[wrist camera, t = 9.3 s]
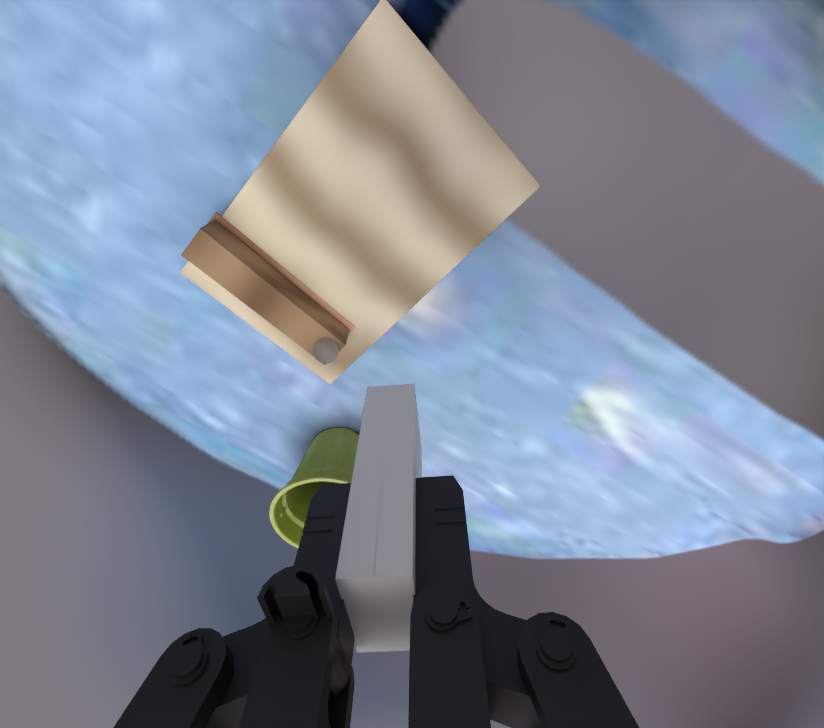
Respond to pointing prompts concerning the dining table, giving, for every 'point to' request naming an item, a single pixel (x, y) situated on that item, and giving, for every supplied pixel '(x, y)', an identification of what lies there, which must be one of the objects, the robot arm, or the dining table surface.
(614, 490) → the dining table surface
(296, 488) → the plant pot
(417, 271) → the stool seat
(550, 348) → the dining table surface
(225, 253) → the folding leg
